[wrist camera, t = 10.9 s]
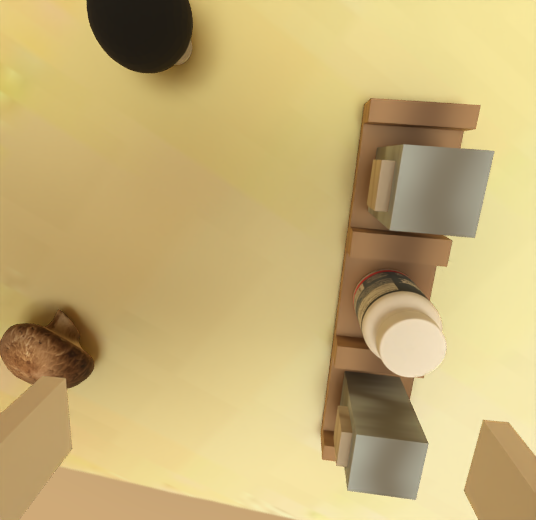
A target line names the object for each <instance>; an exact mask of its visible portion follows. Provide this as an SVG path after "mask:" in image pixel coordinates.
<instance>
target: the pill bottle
mask: <svg viewBox="0 0 536 520" xmlns="http://www.w3.org/2000/svg"><path fill="white" fill-rule="evenodd" d="M353 306H354V310H355V313H356V316H357V318H358V321H359V324H360V327H361V331H362V335H363V337H364V340H365V342H366V344H367V346H368V347H369V349H370V350H371V351H372V352H373V353H374V354H375V355H376V356H377V357H379V358H380V359H381V360H382V362H383V363H384V365H385V366H386V367H387V368H388V369H389V370H390V371H392V372H393V373H395V374H397V375H400V376H403V377H420V376H424V375H426V374H428V373H430V372H432V371H433V370H435V369H436V368H437V367H438V366H439V365H440V364H441V362H442V361H443V359H444V357H445V354H446V347H447V346H446V340H445V336H444V334H443V332H442V321H441V317H440V315H439V313H438V311H437V309H436V308H435V307H434V305H433V304H432V303H431V302H430V301H429V299H428V298H427V297H426V296H425V295H424V294H423V292H422V291H421V290H420V289H419V288H418V287H417V286H416V284H415V283H414V282H413V281H412V280H411V279H410V278H409V277H408V276H407V275H405V274H404V273H402V272H400V271H397V270H393V269H381V270H377V271H374V272H371V273H369V274H368V275H366V276H365V277H364V278H362V279H361V281H360V282H359V283H358V284H357V286H356V288H355V291H354V294H353Z"/></svg>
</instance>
